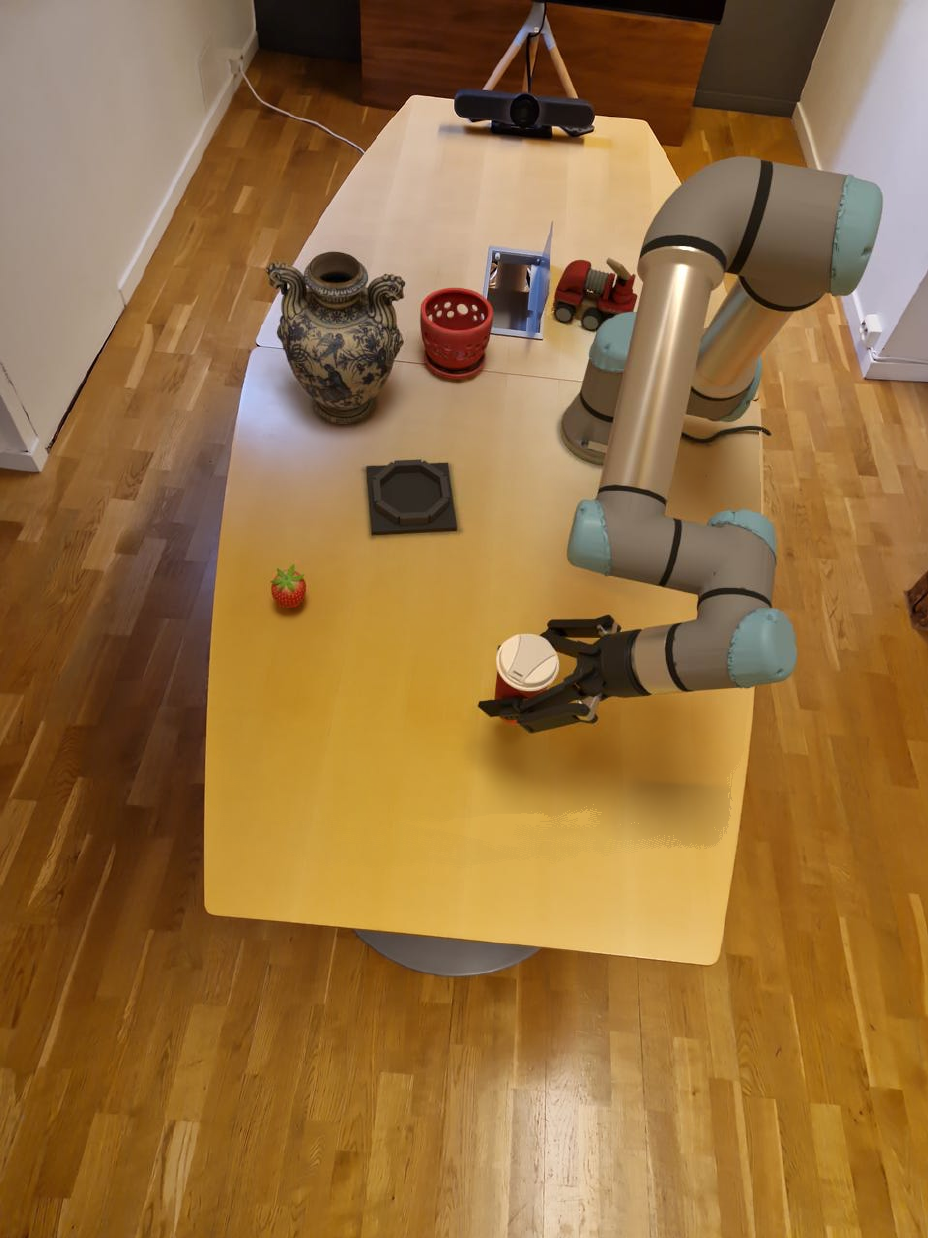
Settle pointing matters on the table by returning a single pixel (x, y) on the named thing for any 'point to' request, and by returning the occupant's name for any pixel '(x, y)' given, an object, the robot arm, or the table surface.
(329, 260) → the decorative vase
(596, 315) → the toy fire truck
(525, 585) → the table surface
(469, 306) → the plant pot
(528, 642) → the paper cup
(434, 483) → the pad
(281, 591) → the fruit
